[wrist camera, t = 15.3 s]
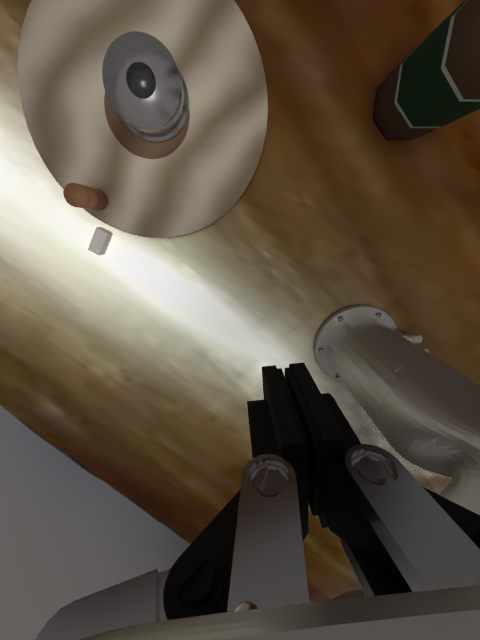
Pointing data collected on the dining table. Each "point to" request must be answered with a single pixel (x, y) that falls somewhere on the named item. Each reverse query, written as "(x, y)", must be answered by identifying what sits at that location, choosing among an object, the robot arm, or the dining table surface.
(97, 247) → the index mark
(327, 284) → the dining table surface
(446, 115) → the beer bottle
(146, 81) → the cover
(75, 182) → the turntable
